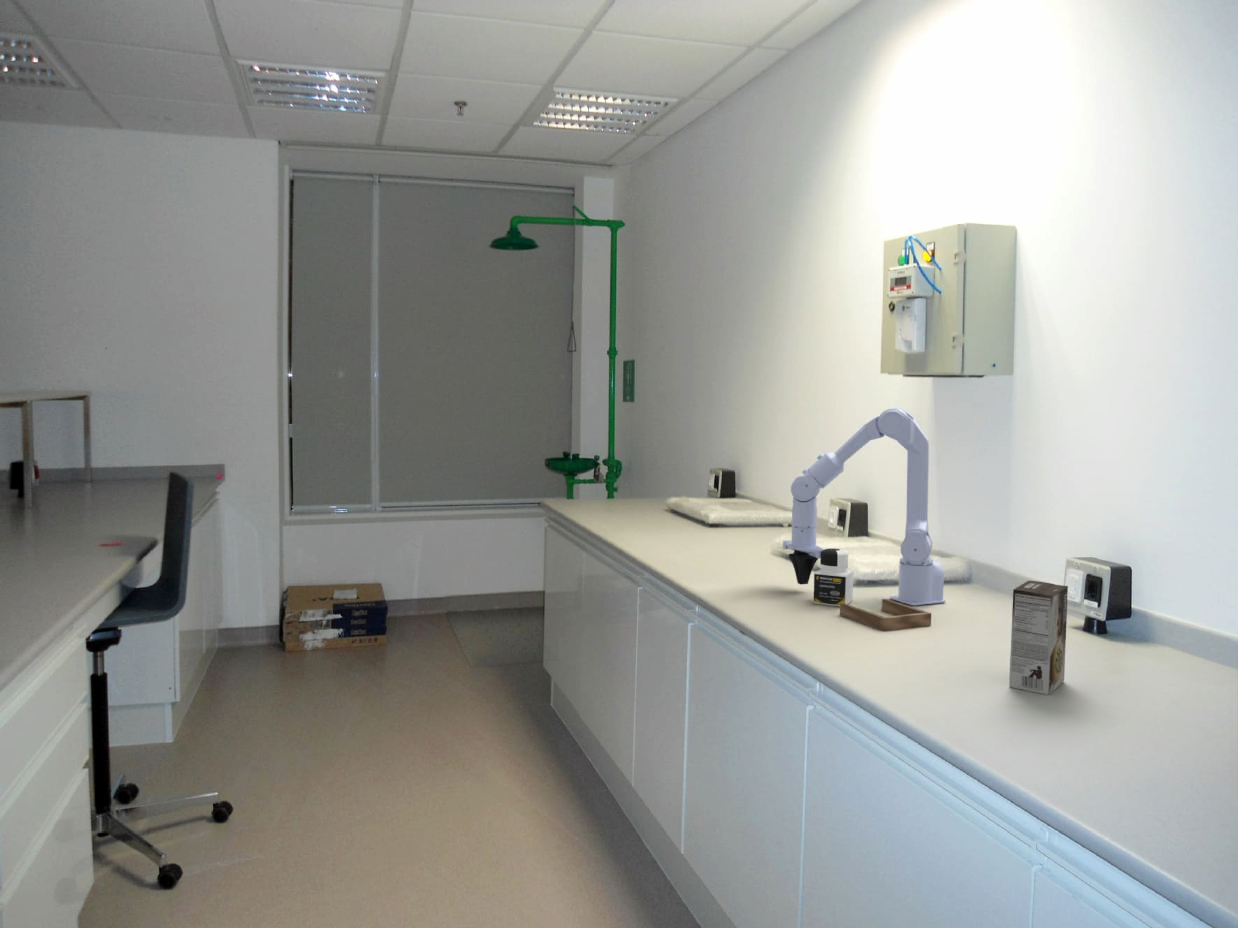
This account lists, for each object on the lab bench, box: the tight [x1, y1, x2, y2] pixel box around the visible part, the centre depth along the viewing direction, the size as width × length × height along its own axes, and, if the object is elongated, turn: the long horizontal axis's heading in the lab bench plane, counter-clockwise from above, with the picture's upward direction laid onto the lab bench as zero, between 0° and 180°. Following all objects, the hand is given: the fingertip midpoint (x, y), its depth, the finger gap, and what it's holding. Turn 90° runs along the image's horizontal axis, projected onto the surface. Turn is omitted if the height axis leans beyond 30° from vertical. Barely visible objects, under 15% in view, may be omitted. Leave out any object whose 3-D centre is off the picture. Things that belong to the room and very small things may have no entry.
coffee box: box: [1008, 580, 1069, 696], centre depth 150 cm, size 9×6×16 cm
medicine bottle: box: [813, 548, 854, 607], centre depth 208 cm, size 7×7×12 cm
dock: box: [839, 598, 932, 632], centre depth 192 cm, size 12×14×2 cm
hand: (802, 583), depth 219 cm, fingers closed
